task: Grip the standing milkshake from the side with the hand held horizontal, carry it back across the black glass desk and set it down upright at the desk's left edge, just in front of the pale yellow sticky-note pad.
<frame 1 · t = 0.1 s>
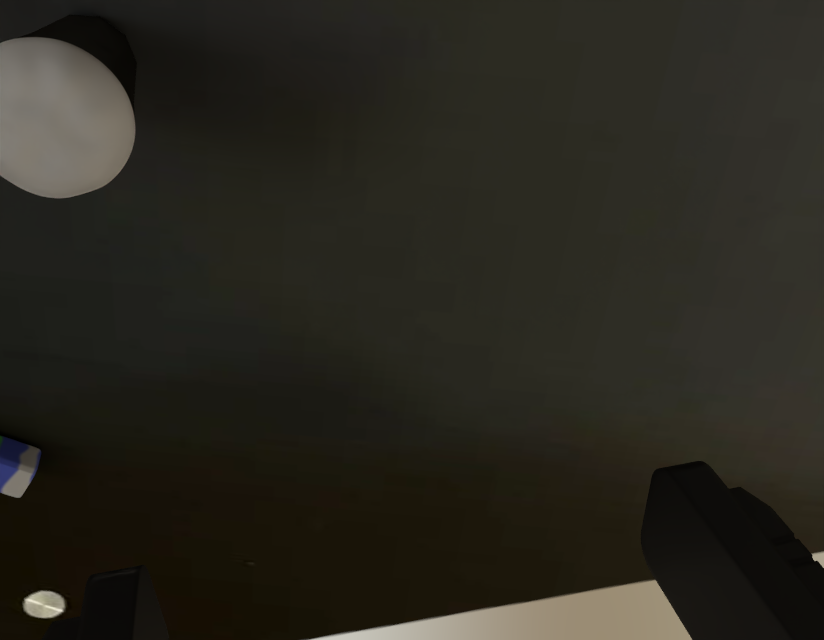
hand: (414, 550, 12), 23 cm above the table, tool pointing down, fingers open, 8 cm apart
milkshake: (81, 51, 28), on the table
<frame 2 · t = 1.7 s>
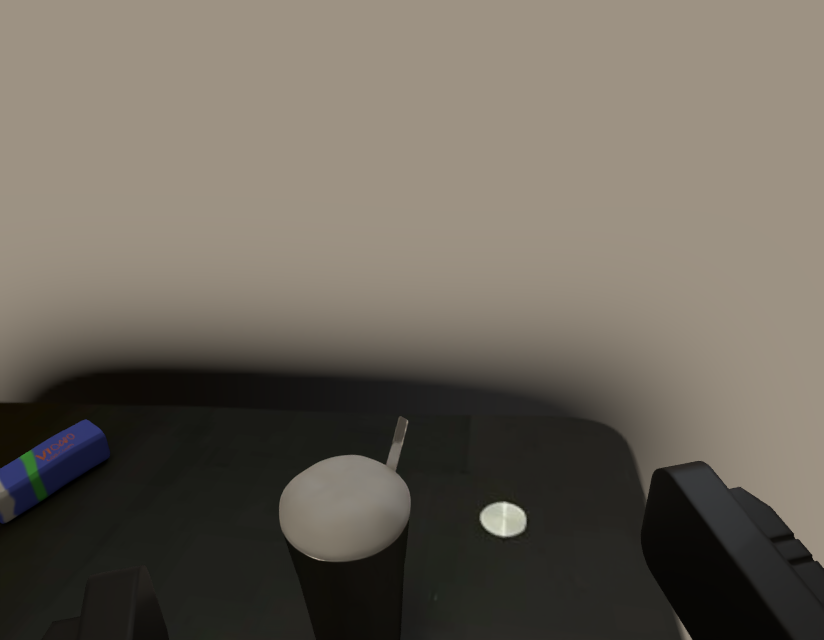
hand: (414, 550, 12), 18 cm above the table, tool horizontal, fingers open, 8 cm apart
eraser: (53, 487, 39), on the table
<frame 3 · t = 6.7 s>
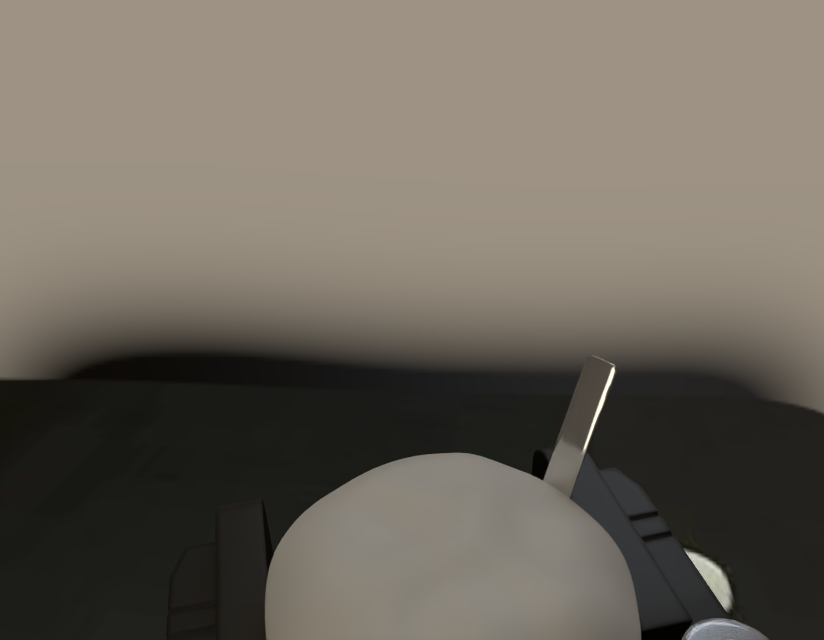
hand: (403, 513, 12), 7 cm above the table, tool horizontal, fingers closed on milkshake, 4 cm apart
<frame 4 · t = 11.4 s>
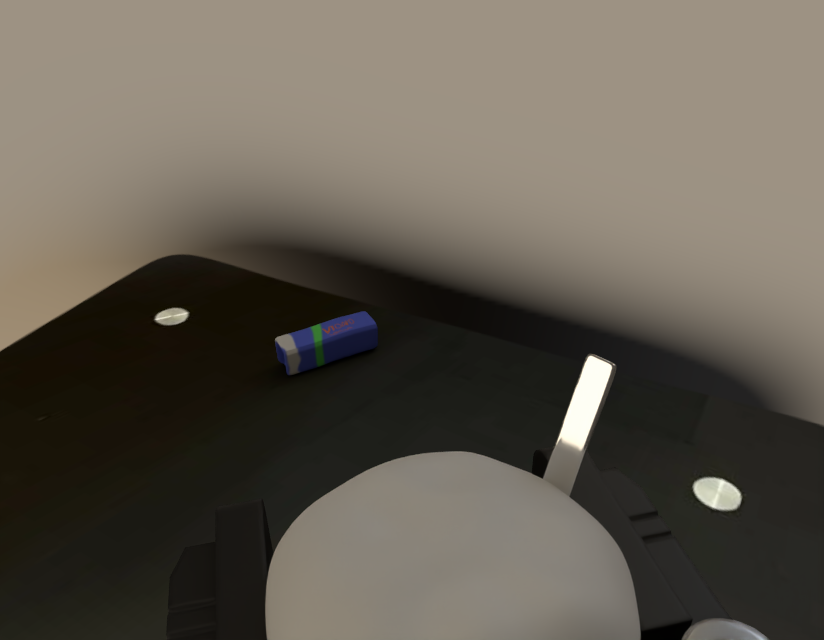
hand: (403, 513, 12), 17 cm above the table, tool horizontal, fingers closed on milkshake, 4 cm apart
eraser: (329, 359, 46), on the table
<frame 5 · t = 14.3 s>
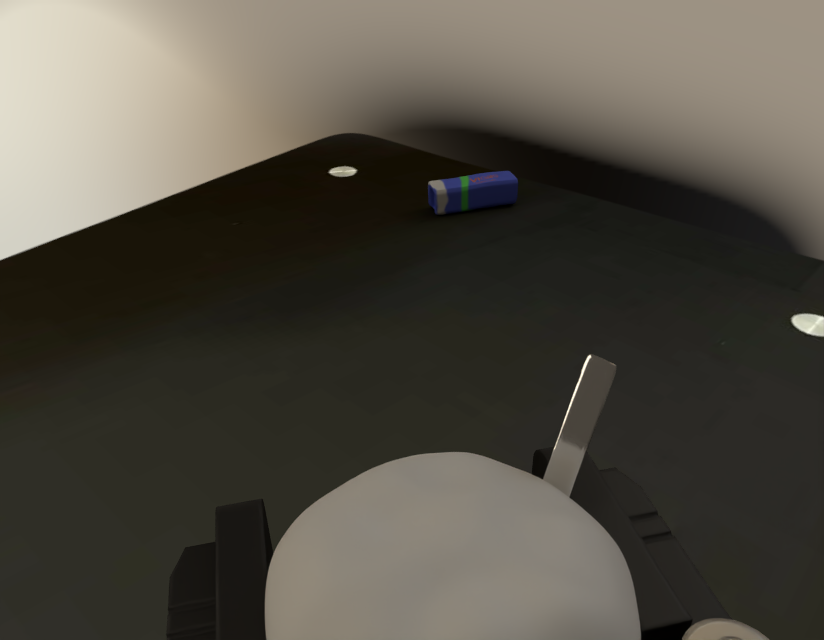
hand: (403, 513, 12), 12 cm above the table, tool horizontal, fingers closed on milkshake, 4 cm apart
eraser: (472, 208, 53), on the table
when the fingers open (7 cm above the table, at t = 16.3 s): milkshake stays where it is, on the table.
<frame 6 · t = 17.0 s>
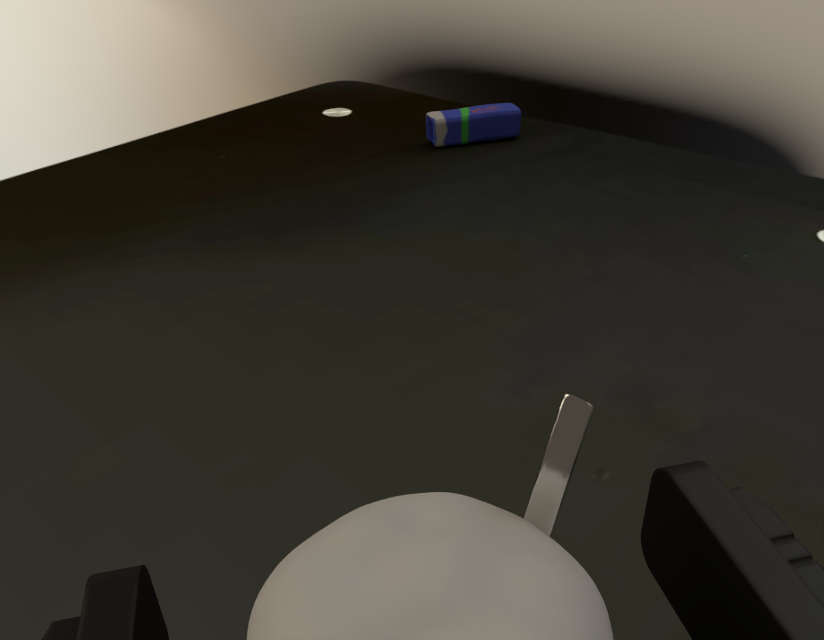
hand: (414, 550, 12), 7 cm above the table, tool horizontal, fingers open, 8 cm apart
eraser: (473, 142, 50), on the table
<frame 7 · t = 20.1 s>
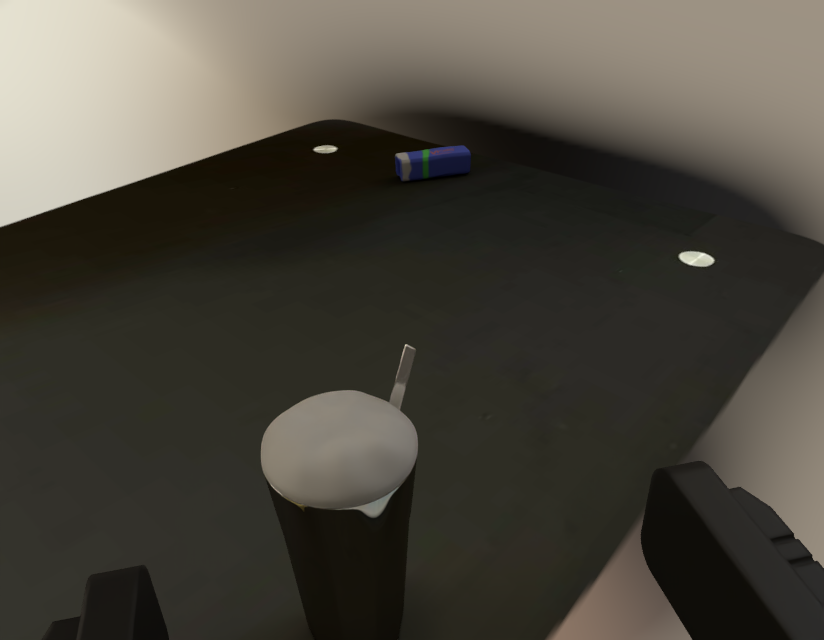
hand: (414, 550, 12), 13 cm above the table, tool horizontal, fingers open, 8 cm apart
eraser: (433, 177, 62), on the table
milkshake: (365, 618, 26), on the table
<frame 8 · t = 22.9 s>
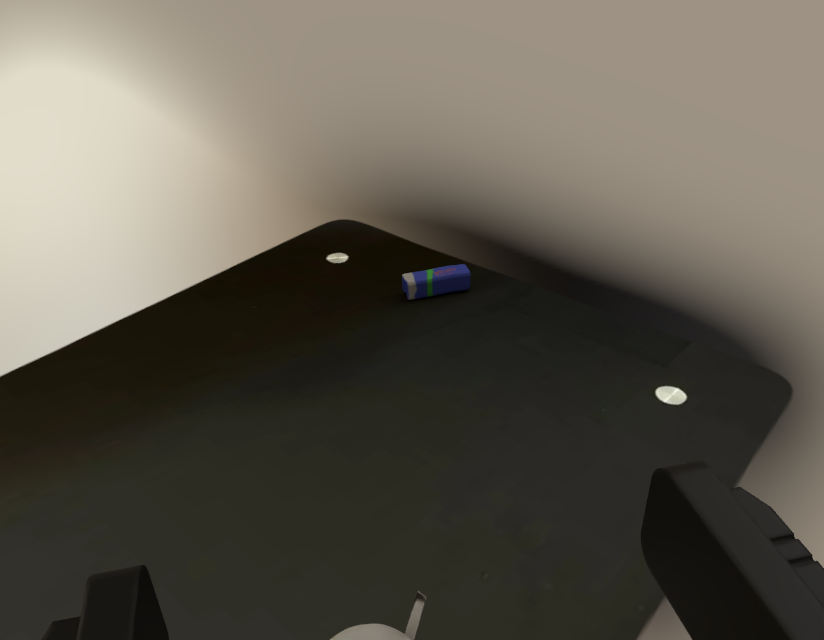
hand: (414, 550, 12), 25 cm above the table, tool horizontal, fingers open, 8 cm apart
eraser: (436, 293, 69), on the table
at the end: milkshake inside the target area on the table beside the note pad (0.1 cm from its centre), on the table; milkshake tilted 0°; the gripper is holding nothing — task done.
